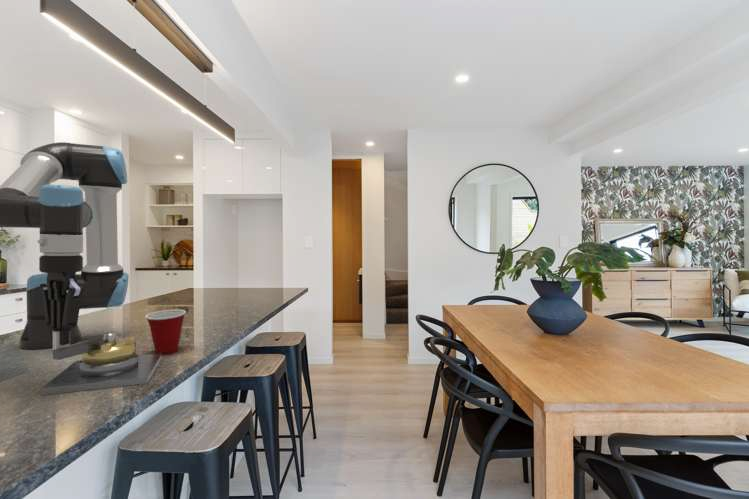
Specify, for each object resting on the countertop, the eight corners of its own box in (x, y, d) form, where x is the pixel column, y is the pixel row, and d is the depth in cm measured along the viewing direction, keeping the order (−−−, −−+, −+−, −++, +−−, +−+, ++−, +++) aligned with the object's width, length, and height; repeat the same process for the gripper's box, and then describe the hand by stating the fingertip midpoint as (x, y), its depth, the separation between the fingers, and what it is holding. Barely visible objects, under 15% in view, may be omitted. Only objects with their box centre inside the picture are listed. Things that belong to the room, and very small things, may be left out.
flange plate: (76, 366, 99) (76, 351, 99) (162, 358, 106) (162, 344, 106) (41, 395, 80) (41, 376, 80) (147, 383, 88) (147, 366, 88)
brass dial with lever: (115, 349, 100) (115, 327, 100) (146, 353, 97) (146, 330, 97) (39, 370, 84) (39, 343, 84) (73, 376, 80) (73, 348, 80)
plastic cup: (136, 354, 110) (136, 314, 109) (167, 345, 120) (168, 308, 120) (163, 359, 106) (163, 317, 106) (193, 349, 116) (194, 310, 116)
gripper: (25, 253, 83) (25, 358, 84) (58, 256, 78) (58, 367, 78) (64, 252, 90) (64, 349, 90) (97, 255, 85) (96, 357, 85)
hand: (61, 358), depth 84 cm, fingers closed
